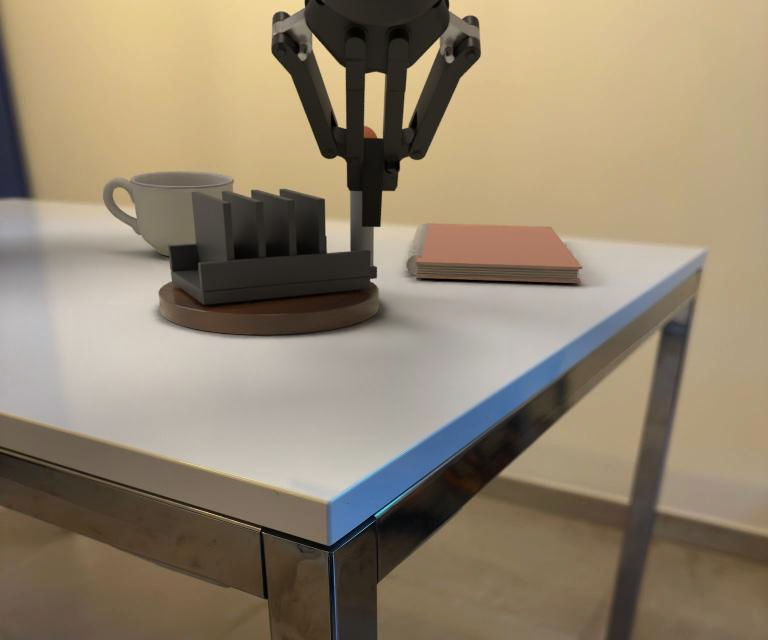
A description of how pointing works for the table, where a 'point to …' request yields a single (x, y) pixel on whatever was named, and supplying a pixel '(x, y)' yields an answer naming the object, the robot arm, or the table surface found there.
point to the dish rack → (269, 248)
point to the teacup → (165, 204)
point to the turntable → (270, 312)
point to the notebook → (491, 253)
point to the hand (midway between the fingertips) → (371, 212)
